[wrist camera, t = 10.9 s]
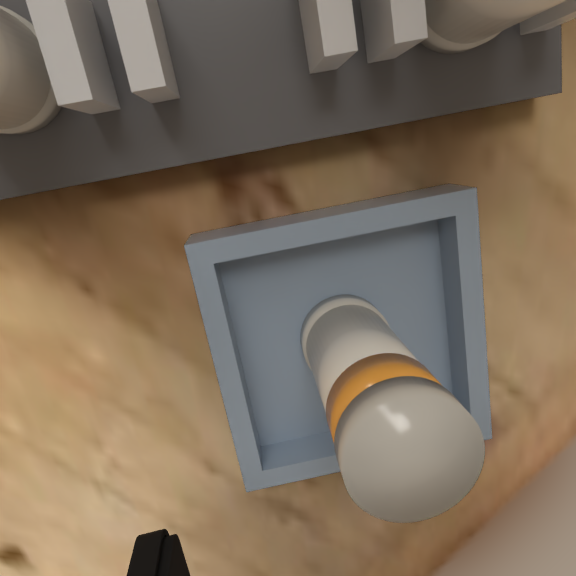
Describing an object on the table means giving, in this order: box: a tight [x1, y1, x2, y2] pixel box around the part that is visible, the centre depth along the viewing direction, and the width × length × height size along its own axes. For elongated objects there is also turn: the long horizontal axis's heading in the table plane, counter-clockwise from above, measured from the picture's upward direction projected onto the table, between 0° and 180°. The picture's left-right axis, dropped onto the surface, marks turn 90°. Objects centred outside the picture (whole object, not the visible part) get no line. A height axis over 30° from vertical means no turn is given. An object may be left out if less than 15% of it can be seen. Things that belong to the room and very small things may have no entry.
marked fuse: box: [300, 294, 485, 523], centre depth 15 cm, size 3×3×8 cm
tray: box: [184, 184, 492, 492], centre depth 18 cm, size 10×10×2 cm
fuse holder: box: [0, 0, 576, 200], centre depth 14 cm, size 7×21×4 cm, turn 100°
